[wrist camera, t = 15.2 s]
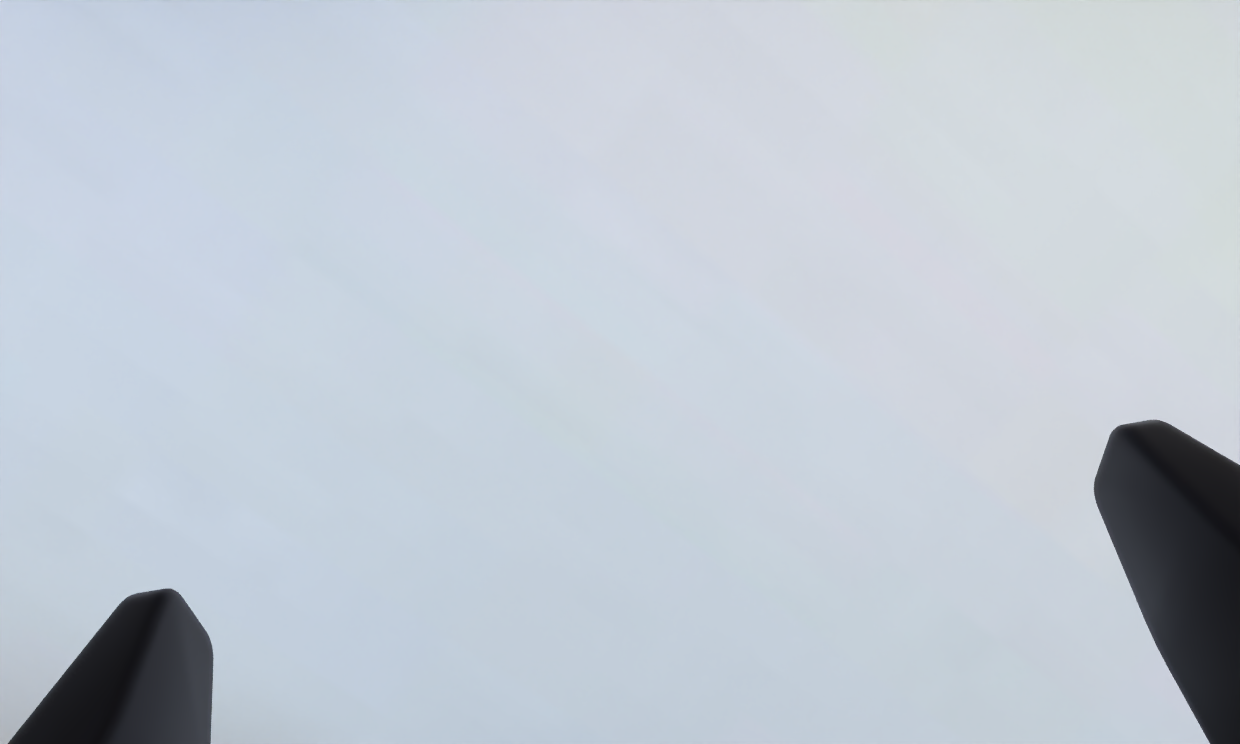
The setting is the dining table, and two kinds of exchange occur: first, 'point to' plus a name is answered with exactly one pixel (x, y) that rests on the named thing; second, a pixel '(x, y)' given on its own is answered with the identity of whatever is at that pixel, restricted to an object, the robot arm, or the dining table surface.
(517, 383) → the dining table surface
